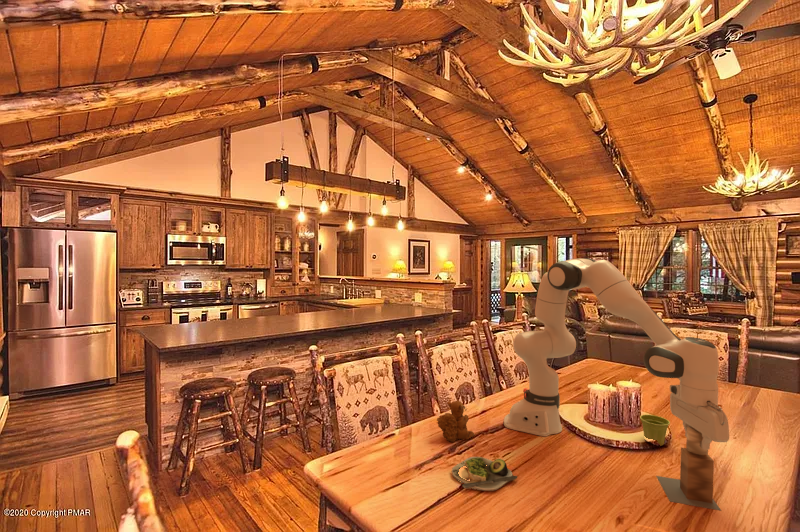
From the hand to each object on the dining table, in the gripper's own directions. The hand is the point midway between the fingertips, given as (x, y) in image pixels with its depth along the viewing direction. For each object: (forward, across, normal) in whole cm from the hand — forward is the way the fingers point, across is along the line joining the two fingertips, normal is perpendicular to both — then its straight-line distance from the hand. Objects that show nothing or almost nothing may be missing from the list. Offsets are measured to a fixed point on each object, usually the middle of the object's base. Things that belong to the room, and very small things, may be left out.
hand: (696, 443), depth 114 cm
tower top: (+9, 0, 0) cm, 9 cm away
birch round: (+2, 0, 0) cm, 2 cm away
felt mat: (+15, +1, +2) cm, 16 cm away
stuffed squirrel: (+16, +31, +67) cm, 76 cm away
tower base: (+15, 0, 0) cm, 15 cm away
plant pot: (+16, +34, -7) cm, 38 cm away
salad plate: (+16, +5, +60) cm, 62 cm away
